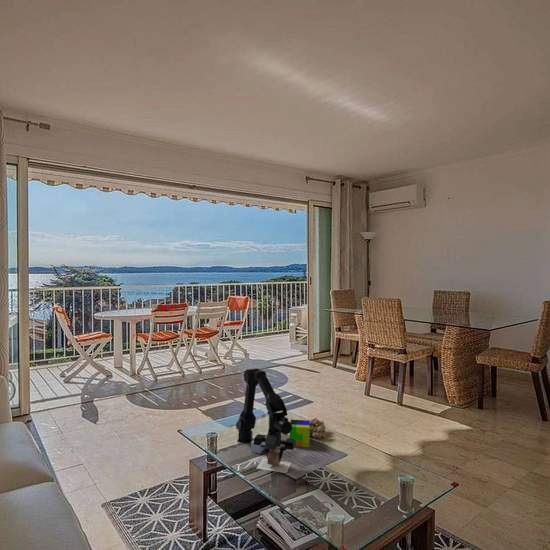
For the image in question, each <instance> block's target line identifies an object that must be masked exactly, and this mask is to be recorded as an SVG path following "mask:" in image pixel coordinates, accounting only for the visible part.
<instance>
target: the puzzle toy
mask: <svg viewBox="0 0 550 550" xmlns="http://www.w3.org/2000/svg"><path fill="white" fill-rule="evenodd" d="M310 421H311V420H306V419H303V420H302V419H290V421H289V422H290V423H291V424H292V430H291V432H290V433H289V438H290V439H295V441H296V445H295V447H297V448H309V447H310V435H309V431H310ZM295 447H294V448H295Z"/></svg>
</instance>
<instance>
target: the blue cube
mask: <svg viewBox="0 0 550 550" xmlns="http://www.w3.org/2000/svg"><path fill="white" fill-rule="evenodd" d="M263 451H264V448H263V447H261V446H260V445H254V439H252V440H251V441H250V453H254V454H262V452H263Z"/></svg>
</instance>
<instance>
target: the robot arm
mask: <svg viewBox="0 0 550 550" xmlns="http://www.w3.org/2000/svg"><path fill="white" fill-rule="evenodd" d="M243 381H244V383H245V384H246V385H245V386H246V387H245V394H244V395H245V396H244V403H243V410H242V411H241V413H240V414H239V416H238V417H239V418H238V420H237V421H236V423H235V429H236V430H237V431H238V439H237V441H236V442H238V443H245V444H249V443H251V442H252V441H253V440H254V445H260V446H261V447H263V448H264V449H263V451H264V452H265V454H266V457H267V458H266V459H268V452H269V451H270V449H272V450H275V449H277V448H278V447H280V448H279V450H280V456H279V461H282V458H283V455H284V452H285V451H287V450H291V451H293V450H294V449H295V445H296V441H295V439H290V437H289V438H288V437H287V438H286V440H285V439H282V434H283V435H290V432H291V430H292V424H291V423H290V422H291V421H289V418H288V417H287V416H288V409H287V407H286V405H285V401H284V400H283V398H282V397H281V396H280V394H277V392H275V390H274V388H273V387H272V384H271V383H270V380H269V379H268V377H267V373H266V371H265V370H262V369H259V368H258V367H257V368H249V369H245V370H244V372H243ZM258 385H259V387H260V389H261V391H262V393H263V395H264V399H265V403H264V404H265V408H266V410H267V413H266V415H268V430H267V434H266V435H265V434H259V433H258V434H256V435H255V437H253V434H254V433H253V431H252V430H253V429H254V430H255V426H256V423H257V422H256V421H257V417H256V415H255V414H254V406H255V405H254V404H255V396H256V389H257V386H258Z"/></svg>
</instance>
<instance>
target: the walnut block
mask: <svg viewBox="0 0 550 550" xmlns="http://www.w3.org/2000/svg"><path fill="white" fill-rule="evenodd" d="M279 456H280V449H277V448H276V449H275V450H272V449H270V451H269V452H268V458H267V459H268V464H269V465H275V466H278V465H279V463H280V462H281V461H282V460H281V461H279Z"/></svg>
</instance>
